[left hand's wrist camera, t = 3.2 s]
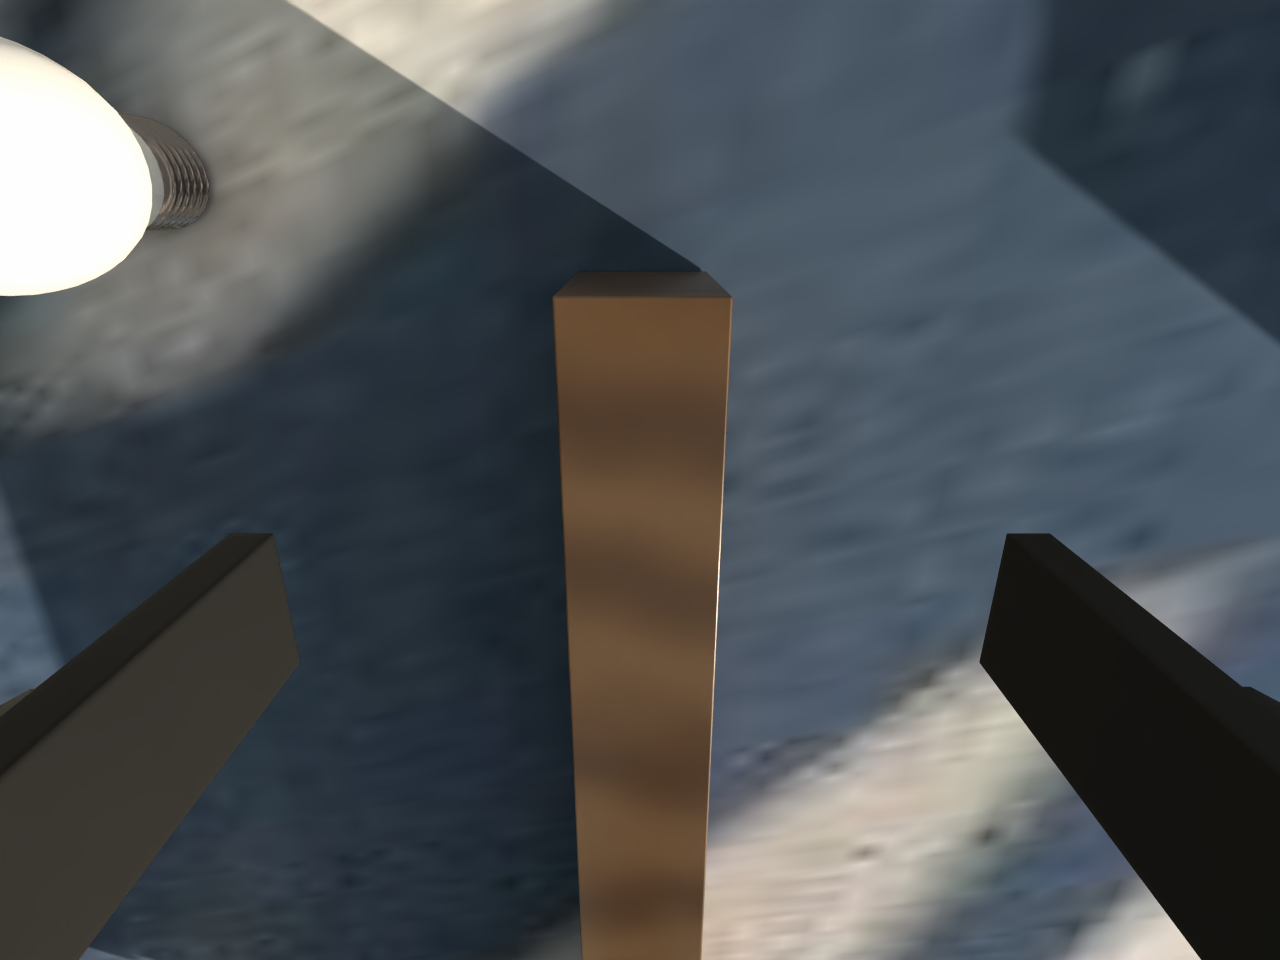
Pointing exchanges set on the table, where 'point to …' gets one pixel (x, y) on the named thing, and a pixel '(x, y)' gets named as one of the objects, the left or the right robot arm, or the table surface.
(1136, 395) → the table surface
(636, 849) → the post
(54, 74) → the light bulb
